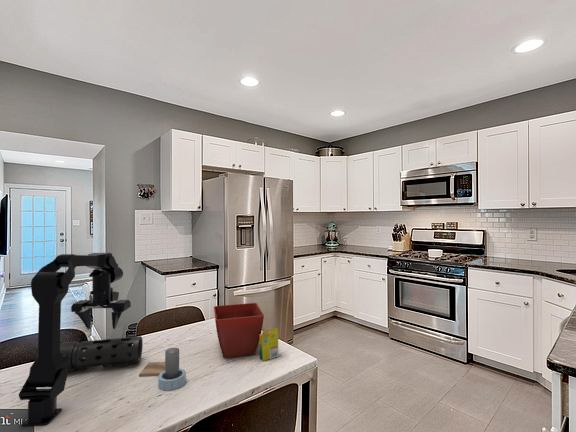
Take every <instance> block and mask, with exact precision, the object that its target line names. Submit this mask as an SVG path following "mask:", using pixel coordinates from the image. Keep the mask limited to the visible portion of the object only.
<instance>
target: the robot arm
mask: <svg viewBox="0 0 576 432" xmlns="http://www.w3.org/2000/svg"><path fill="white" fill-rule="evenodd" d="M77 267H87V268H90V269H93V270H92V271H91V272H90V273H89V277H90V278H92V279H91V281H92V282H91V283H92V285H91V287H92V288H91V289H92V290H90V292H89V295H92V300H90V299H81V300H78V301H76V302H74V303H73V304H72V305H71V307H70V312H71V313H74V315H77V316H78V317H79V319H80V320H81V321H82V323H83V324H84V326H85V328H86V329H87V330H90V329H91V327H92V326H91V325H92V322H91V321H92V316H91V313H92V309H112V312H111V323H112V324H111V325H112V329H113V330H116V328H117V325H118V323H119V320H120V318H121V315H122V314H123V312H125V311H127V310H128V309H129V308H131V303H132V302H131V301H130V300H129V299H119V295H120V292H119V291H114V290H113V287H111V284H113V283H115V282H117V281H119V280H121V279H122V278H123V276H124V271H123V269H122V268H121V267H120V266H119V263H117V261H116V258H115V256H114V255H113V253H111V252H92V253H87V255H86V254H85V255H84V254H83V255H80V254H74V253H67V254H66V253H65V254H64V253H63V254H62V253H61V254H59V255H57V256H55V258H54V259H53V260H52V261H51V262H49V263H47V264H46V265H44V266H42V267H41V268H40V269H39V270H38V271H37V273H36V274H35V275H34V276H33V278H31V281H30V288H31V296H32V297H33V299H34V301H35V302H36V303H37V305H38V326H37V327H38V331H37V335H38V336H37V357H36V359H35V360H34V362H33V363H32V365H31V366H30V368H29V371H28V372H29V373H28V377H27V379H26V380H25V382H24V384H23V386H21V389H20V391H19V393H18V397H19V400H20V401H27V400H28V402H27V419H25V420H24V421H23V422H22V423H21V426H22V427H25V426H27V427H29V426H45V425H48V424H49V423H50V422H52V421H53V420H54V419H55V418H56V417H57V415H58V414H60V413H61V412H62V411H63V408H61V407H60V408H57V405H58V404H57V401H58V400H57V398H58V396H59V395H60V394H62V393H63V392H64V391H65V387H66V382H67V378H68V373H69V370H67V369H69V368H68V356H67V355H62V354H61V353H60V345H61V325H62V324H61V322H62V321H61V319H62V317H61V316H62V314H61V313H62V301H63V300H64V299H65V297H66V295H67V294H68V293H69V287H70V284H71V282H72V281H73V280H74V278H76V277H75V276H76V270H75V269H76V268H77ZM61 268H67V270H66V271H59V270H60V269H61Z"/></svg>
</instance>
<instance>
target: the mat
mask: <svg viewBox="0 0 576 432" xmlns="http://www.w3.org/2000/svg"><path fill="white" fill-rule="evenodd" d="M164 371H165V361H149V362H148V363H147V364H146V365H145V366H144V368H143V369H142V370H141V372H140V373H139V374H138V377H158V376H159V375H160V373H162V372H164Z"/></svg>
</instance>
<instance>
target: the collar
mask: <svg viewBox="0 0 576 432" xmlns="http://www.w3.org/2000/svg"><path fill="white" fill-rule="evenodd" d="M186 373H187V371H186V370H185V369H183V368H180V367H179V377H178V378H175V379H168V380H166V379H165V371H164V372H162V373H160V375H159V376H157V386H158V389H160V390H162V391H166V392H167V391H174V390H177V389H180V388H182V387H183V386H184V385H185V384H186V382H187V379H186V378H187V374H186Z"/></svg>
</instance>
